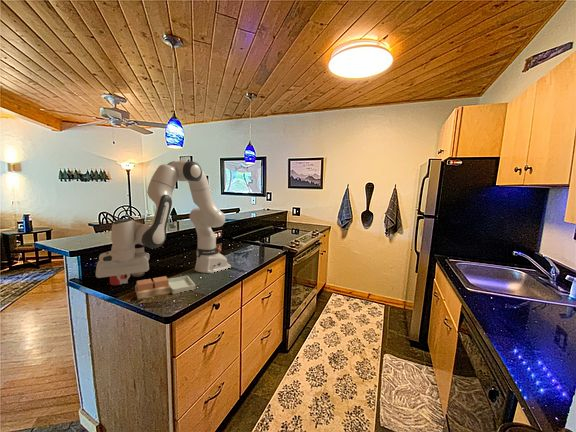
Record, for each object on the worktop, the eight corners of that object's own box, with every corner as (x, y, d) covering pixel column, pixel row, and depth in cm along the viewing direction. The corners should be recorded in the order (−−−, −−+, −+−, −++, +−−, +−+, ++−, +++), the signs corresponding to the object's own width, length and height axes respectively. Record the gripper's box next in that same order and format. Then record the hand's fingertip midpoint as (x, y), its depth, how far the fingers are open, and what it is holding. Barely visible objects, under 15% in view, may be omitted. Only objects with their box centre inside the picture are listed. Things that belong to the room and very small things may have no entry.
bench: (166, 285, 129) (166, 279, 128) (170, 293, 120) (170, 287, 120) (135, 290, 120) (134, 285, 120) (137, 299, 111) (137, 293, 111)
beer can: (117, 286, 124) (116, 264, 122) (106, 284, 125) (105, 262, 123) (128, 281, 130) (127, 260, 129) (117, 280, 131) (117, 258, 130)
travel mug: (134, 272, 143) (134, 239, 140) (146, 273, 143) (146, 240, 141) (128, 276, 136) (128, 242, 134) (141, 277, 137) (140, 242, 135)
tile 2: (166, 281, 126) (166, 276, 126) (168, 285, 121) (168, 279, 121) (152, 283, 122) (152, 278, 122) (155, 288, 118) (154, 282, 117)
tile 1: (150, 284, 122) (150, 278, 121) (152, 288, 117) (152, 282, 117) (136, 286, 118) (136, 280, 118) (138, 291, 113) (138, 285, 113)
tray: (187, 279, 137) (187, 275, 137) (195, 289, 125) (195, 285, 125) (165, 283, 130) (165, 279, 130) (172, 294, 118) (172, 289, 118)
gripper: (148, 250, 119) (148, 277, 121) (95, 255, 107) (96, 285, 108) (150, 253, 114) (150, 281, 116) (95, 258, 102) (95, 290, 103)
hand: (123, 283), depth 112 cm, fingers closed
